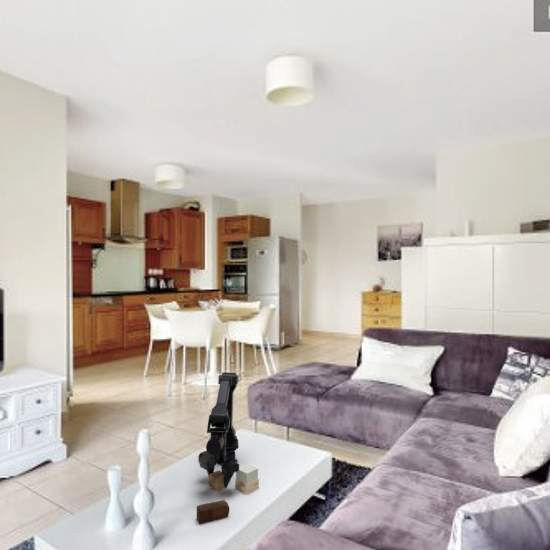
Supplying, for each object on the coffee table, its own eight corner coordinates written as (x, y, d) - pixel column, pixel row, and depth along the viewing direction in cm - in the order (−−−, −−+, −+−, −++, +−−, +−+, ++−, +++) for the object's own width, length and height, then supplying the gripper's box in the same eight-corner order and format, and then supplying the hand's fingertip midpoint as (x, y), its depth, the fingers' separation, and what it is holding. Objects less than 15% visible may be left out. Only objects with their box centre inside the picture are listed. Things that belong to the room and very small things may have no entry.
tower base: (235, 489, 162) (235, 478, 162) (247, 483, 167) (247, 473, 167) (246, 495, 158) (246, 484, 158) (258, 488, 163) (258, 478, 163)
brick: (199, 525, 138) (199, 511, 138) (196, 518, 142) (196, 505, 142) (229, 517, 143) (229, 504, 143) (225, 511, 147) (225, 498, 147)
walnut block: (209, 487, 163) (209, 474, 163) (218, 482, 167) (219, 470, 167) (217, 491, 160) (217, 478, 160) (227, 486, 164) (227, 474, 164)
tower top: (236, 478, 162) (236, 468, 162) (247, 473, 167) (247, 463, 167) (246, 484, 158) (247, 473, 158) (257, 478, 163) (257, 468, 163)
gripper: (187, 443, 164) (187, 482, 164) (217, 457, 151) (217, 500, 151) (209, 435, 172) (209, 472, 172) (240, 448, 159) (239, 488, 159)
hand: (218, 483), depth 163 cm, fingers open, 9 cm apart
